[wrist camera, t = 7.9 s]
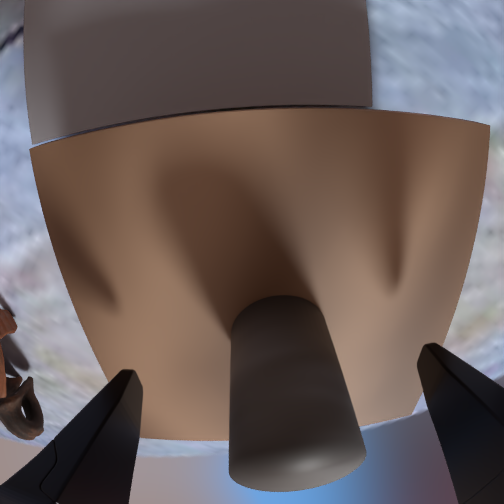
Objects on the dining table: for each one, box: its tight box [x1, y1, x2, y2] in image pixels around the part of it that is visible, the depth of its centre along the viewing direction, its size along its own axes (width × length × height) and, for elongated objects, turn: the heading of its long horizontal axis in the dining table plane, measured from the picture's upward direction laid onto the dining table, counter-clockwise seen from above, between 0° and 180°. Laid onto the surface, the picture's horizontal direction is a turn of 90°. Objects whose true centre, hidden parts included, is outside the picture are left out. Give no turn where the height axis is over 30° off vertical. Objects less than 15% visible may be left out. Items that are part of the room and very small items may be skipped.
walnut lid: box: [29, 108, 490, 492], centre depth 9 cm, size 14×14×6 cm
